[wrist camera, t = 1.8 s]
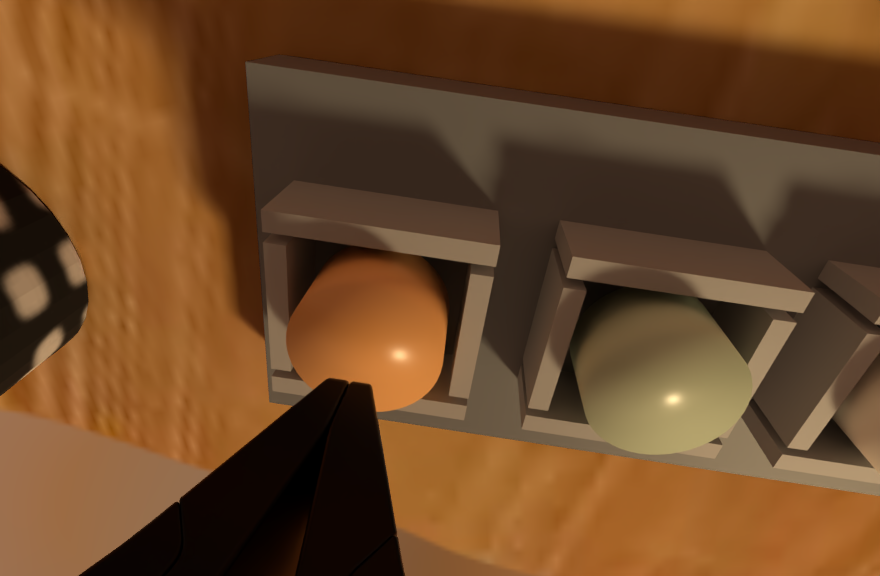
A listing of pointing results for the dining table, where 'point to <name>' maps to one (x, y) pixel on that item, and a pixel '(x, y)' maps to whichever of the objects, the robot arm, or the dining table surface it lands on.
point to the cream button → (863, 414)
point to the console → (577, 247)
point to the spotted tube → (34, 283)
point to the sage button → (657, 372)
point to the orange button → (372, 325)
